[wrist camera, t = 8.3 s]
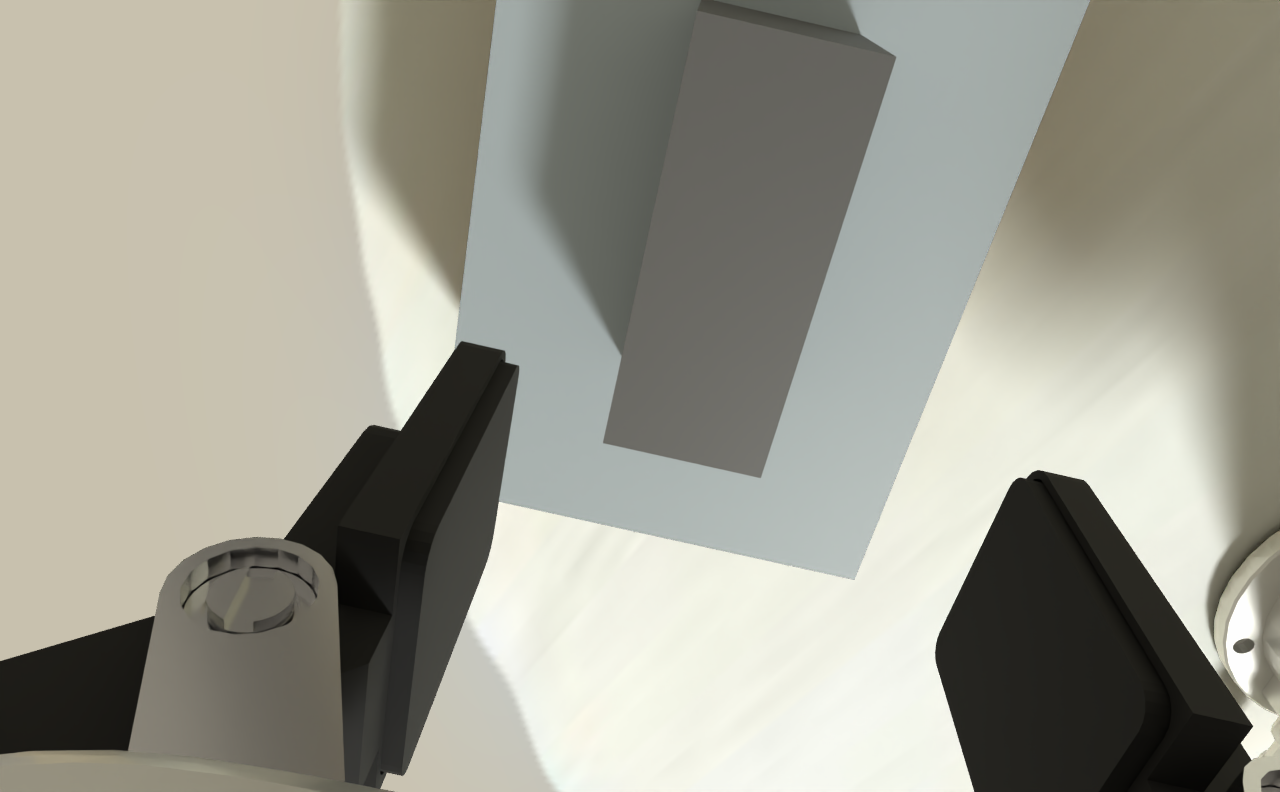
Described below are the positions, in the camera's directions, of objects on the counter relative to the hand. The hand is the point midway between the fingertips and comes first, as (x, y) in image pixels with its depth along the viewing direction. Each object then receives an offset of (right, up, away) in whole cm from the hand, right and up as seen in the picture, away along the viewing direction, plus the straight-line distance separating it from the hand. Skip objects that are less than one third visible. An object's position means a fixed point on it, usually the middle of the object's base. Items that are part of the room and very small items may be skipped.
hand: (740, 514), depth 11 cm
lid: (+1, +8, +15) cm, 17 cm away
